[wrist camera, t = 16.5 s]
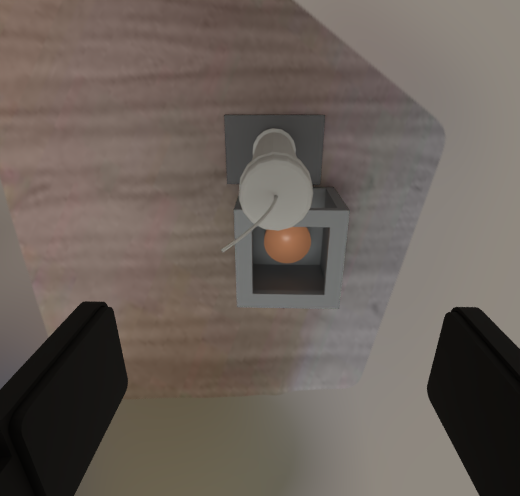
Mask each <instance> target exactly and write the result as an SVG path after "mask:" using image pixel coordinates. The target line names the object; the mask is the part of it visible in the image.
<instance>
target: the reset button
mask: <svg viewBox="0 0 520 496" xmlns="http://www.w3.org/2000/svg"><path fill="white" fill-rule="evenodd" d="M264 246H265V250H266V252H267V253H268V255H269V256H270V257H271V258H272V259H274V260H275V261H278V262H281V263H294V262H297V261H299V260H301V259H302V258H303V257H304V256H305V255H306V254H307V253H308V251H309V249H310V246H311V237H310V233H309V230H308V228H307V227H291V228H287V229H283V230H279V231H277V230H268V229H266V231H265V235H264Z"/></svg>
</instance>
